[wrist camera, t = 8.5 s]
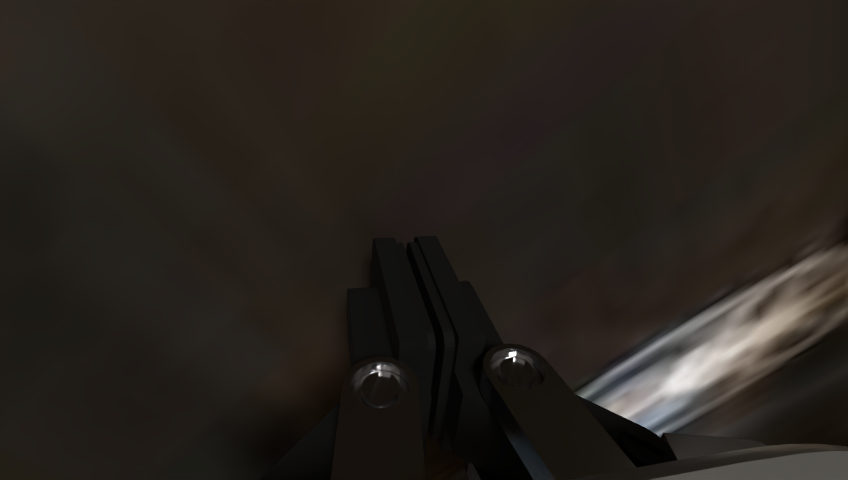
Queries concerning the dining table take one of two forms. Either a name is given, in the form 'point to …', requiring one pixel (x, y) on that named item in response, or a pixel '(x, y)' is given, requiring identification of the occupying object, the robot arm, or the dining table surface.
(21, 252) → the dining table surface
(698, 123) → the dining table surface
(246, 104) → the dining table surface
